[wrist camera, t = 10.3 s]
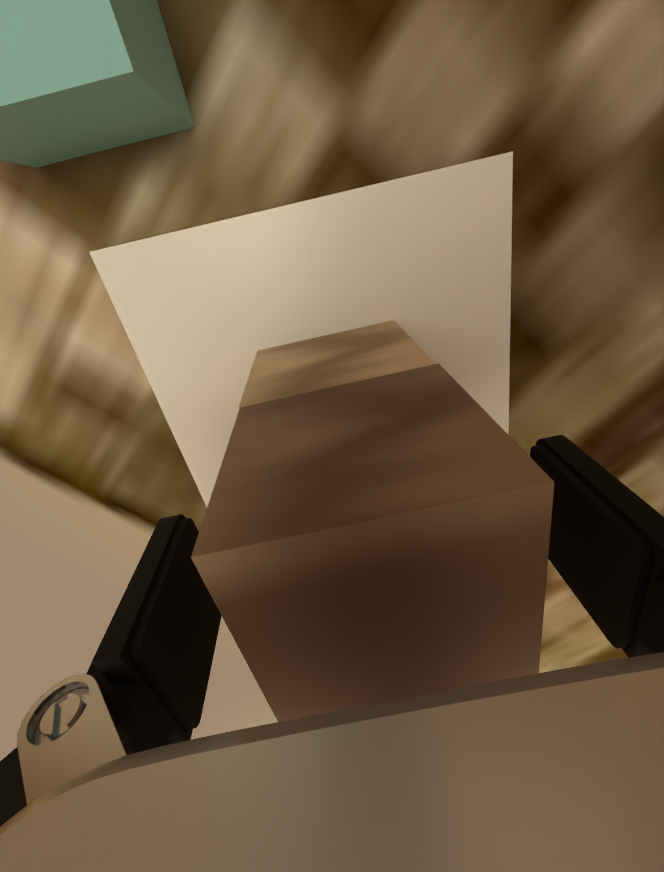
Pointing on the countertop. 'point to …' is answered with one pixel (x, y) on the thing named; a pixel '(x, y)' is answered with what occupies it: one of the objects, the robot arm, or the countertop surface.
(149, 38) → the teal cube
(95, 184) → the countertop surface
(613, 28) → the countertop surface
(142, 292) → the plate
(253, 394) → the oak cube
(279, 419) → the walnut cube
